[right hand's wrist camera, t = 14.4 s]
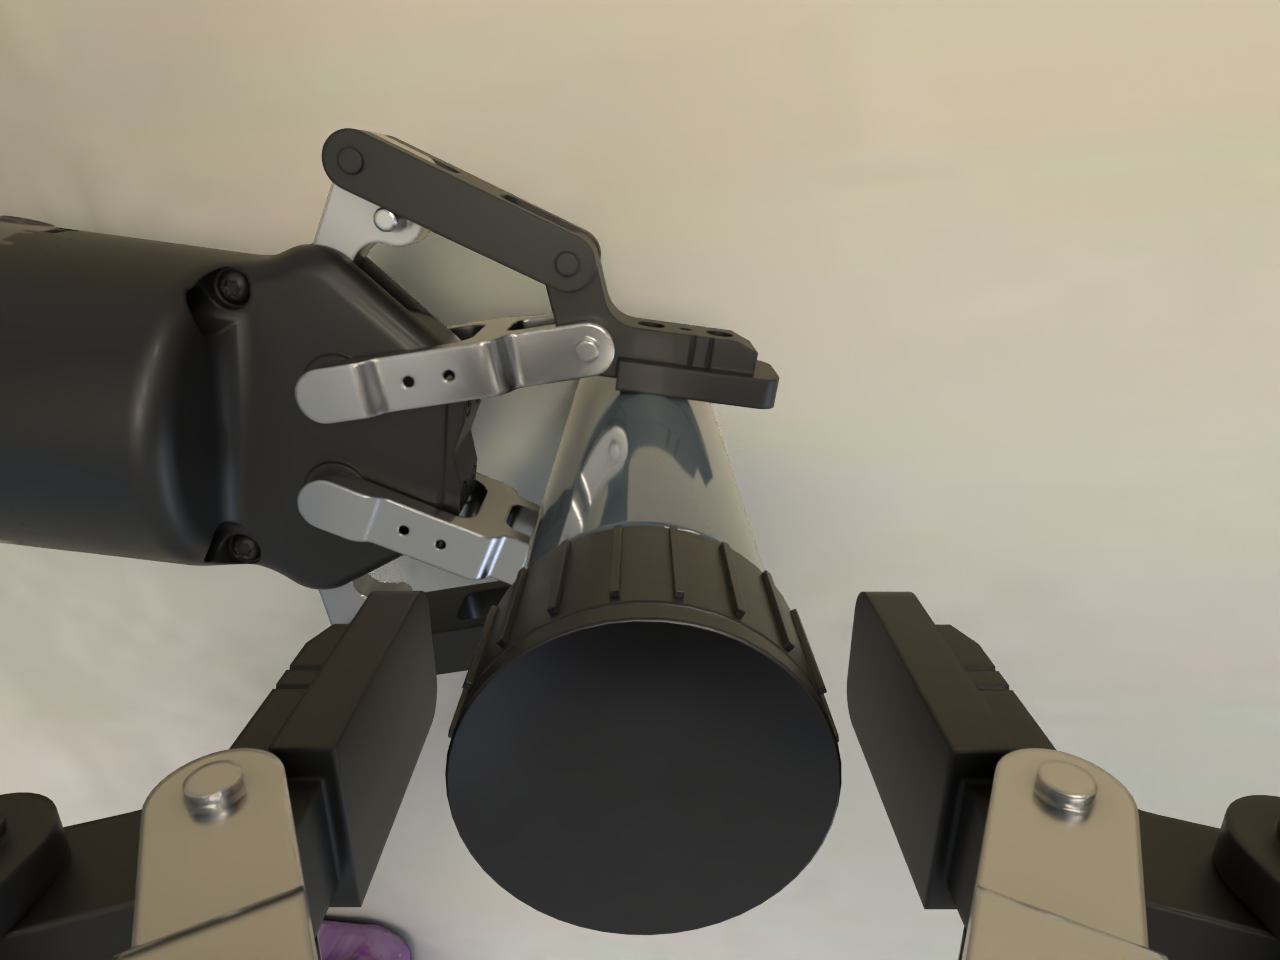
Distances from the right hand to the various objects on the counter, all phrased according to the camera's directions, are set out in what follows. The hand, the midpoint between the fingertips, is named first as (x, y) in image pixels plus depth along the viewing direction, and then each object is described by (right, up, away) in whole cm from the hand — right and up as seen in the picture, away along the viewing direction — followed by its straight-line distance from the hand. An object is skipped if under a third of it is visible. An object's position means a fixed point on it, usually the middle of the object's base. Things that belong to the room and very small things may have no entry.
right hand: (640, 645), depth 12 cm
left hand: (+3, +3, +8) cm, 9 cm away
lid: (0, -1, -3) cm, 3 cm away
